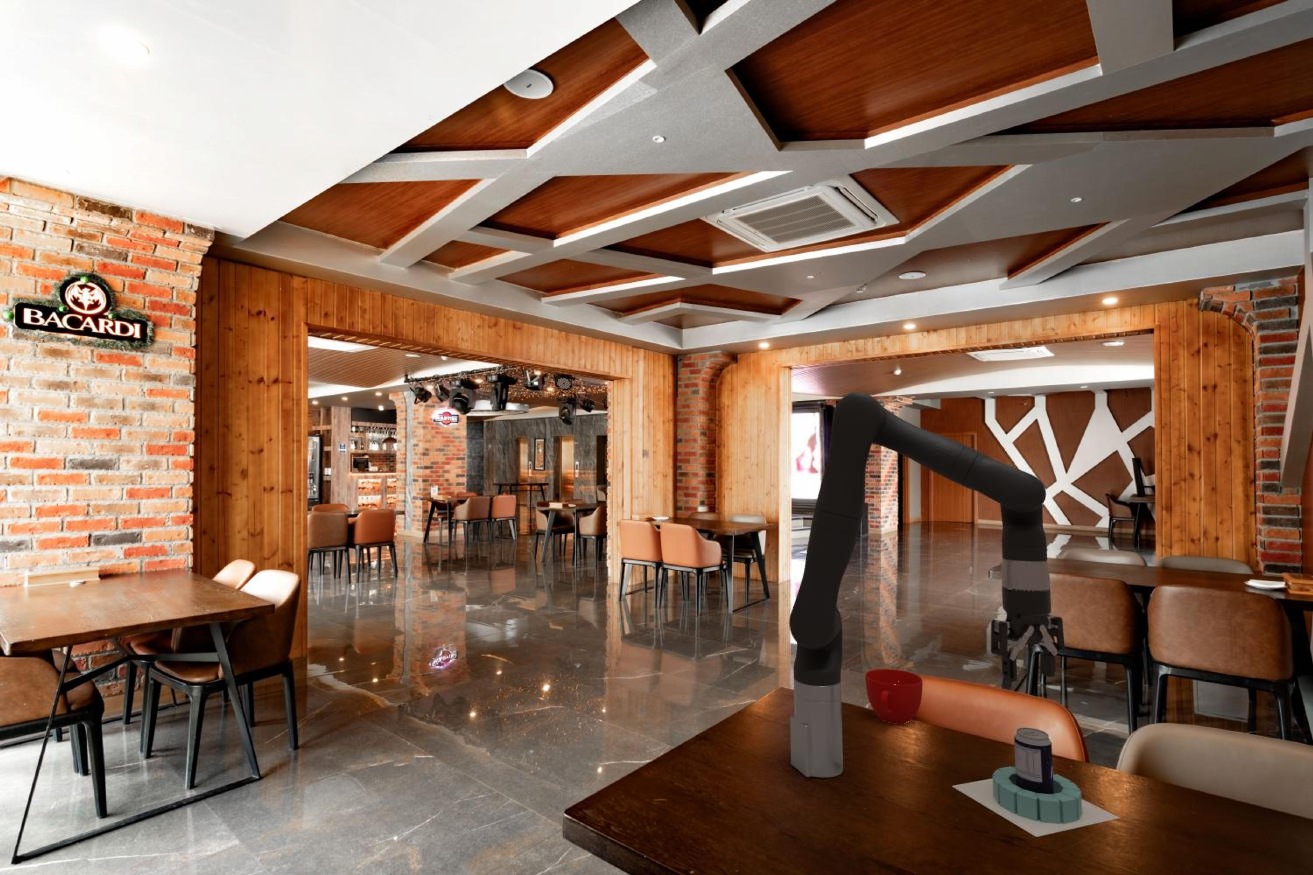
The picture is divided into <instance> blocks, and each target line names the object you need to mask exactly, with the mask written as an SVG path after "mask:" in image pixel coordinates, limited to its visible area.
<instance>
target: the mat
mask: <svg viewBox="0 0 1313 875" xmlns="http://www.w3.org/2000/svg"><path fill="white" fill-rule="evenodd" d="M951 787H952V788H953V789H956V790H957V791H959V792H960V793H962V794H964V795H965V796H967V797H969V798H970V799H972V800H974V801H976V802H977V803H979V804H980V805H982V806H984V807H985V808H987V809H988V810H991V811H992V812H994V813H995V814H997V815H999V816H1001V817H1003V818H1004V819H1006V821H1009V822H1010V823H1012V824H1014V825H1016V826H1017V827H1019V828H1021V829H1022V830H1024V831H1026V832H1027V833H1028V834H1030V835H1032V836H1034V837H1036V838H1037V837H1039V838H1040V837H1042V836H1048V835H1051V834H1056V833H1060V832H1064V831H1070V830H1072V829H1073V830H1074V829H1078V828H1082V827H1087V826H1092V825H1096V824H1100V823H1105V822H1109V821H1112V820H1113V821H1114V820H1119V819H1120V816H1117V815H1114V814H1113V813H1111V812H1109V811H1107V810H1105V809H1103V808H1101V807H1098V806H1097V805H1095V804H1093V803H1091V802H1088V801H1087V800H1085V799H1082V798H1081V799H1082V815H1081V817H1080V819H1079V820H1077V821H1075V822H1070V823H1066V824H1063V823H1061V824H1055V823H1045V822H1041V821H1040V820H1039V819H1038V821H1034V820H1031V819H1028V818H1024V817H1021V816H1018V814H1017V813H1016V814H1013V813H1012V812H1010V811H1008V810H1007V809H1005V808H1003V807H1001V806H1000V804H998V803H997V801H996V800H995V798H994V797H993V777H992V778H987V779H983V780H978V781H977V780H976V781H971V782H965V783H961V784H956V785H952V786H951Z"/></svg>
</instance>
